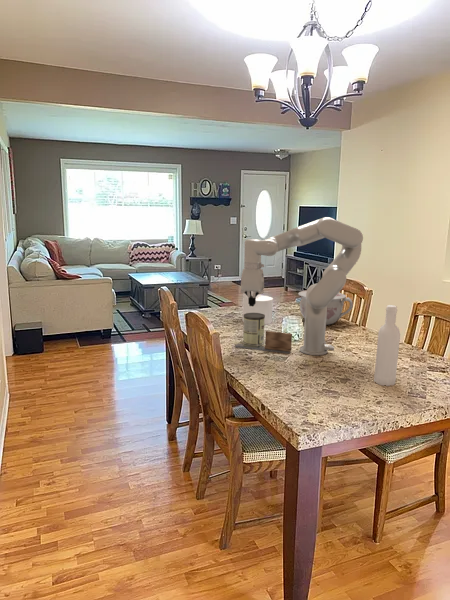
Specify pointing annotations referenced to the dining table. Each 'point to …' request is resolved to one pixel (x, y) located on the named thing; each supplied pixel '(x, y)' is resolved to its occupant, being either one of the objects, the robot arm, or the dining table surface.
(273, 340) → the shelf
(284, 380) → the dining table surface
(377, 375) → the bottle
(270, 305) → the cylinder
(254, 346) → the grey flat strip
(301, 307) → the chamber pot
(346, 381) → the dining table surface
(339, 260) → the robot arm
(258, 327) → the coffee can
